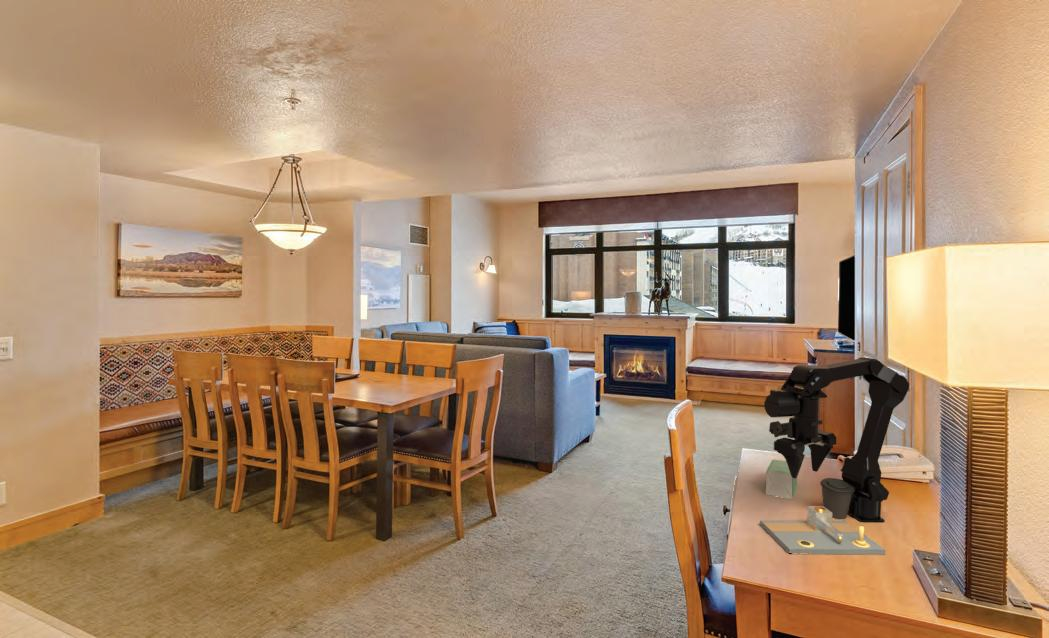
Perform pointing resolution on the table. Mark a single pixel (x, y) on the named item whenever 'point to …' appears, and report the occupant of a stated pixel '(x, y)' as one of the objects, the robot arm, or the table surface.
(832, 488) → the coffee cup
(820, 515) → the white block with bar
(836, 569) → the table surface
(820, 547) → the jig plate
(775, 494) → the box
